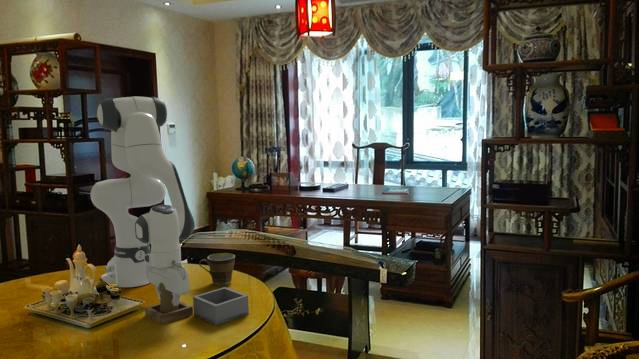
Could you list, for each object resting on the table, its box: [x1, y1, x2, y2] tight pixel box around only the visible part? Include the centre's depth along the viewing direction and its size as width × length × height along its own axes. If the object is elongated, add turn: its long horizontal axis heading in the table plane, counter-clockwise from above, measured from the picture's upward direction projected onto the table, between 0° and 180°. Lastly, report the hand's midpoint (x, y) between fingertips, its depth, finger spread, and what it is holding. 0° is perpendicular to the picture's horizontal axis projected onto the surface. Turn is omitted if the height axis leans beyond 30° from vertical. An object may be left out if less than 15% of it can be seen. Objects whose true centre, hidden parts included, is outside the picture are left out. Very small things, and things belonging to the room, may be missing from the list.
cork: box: [159, 283, 178, 314], centre depth 160 cm, size 6×6×11 cm
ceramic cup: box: [198, 252, 236, 287], centre depth 189 cm, size 13×10×10 cm
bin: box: [192, 286, 250, 327], centre depth 160 cm, size 12×12×6 cm
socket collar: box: [144, 300, 194, 325], centre depth 160 cm, size 10×10×2 cm
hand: (168, 301), depth 160 cm, fingers open, 7 cm apart
